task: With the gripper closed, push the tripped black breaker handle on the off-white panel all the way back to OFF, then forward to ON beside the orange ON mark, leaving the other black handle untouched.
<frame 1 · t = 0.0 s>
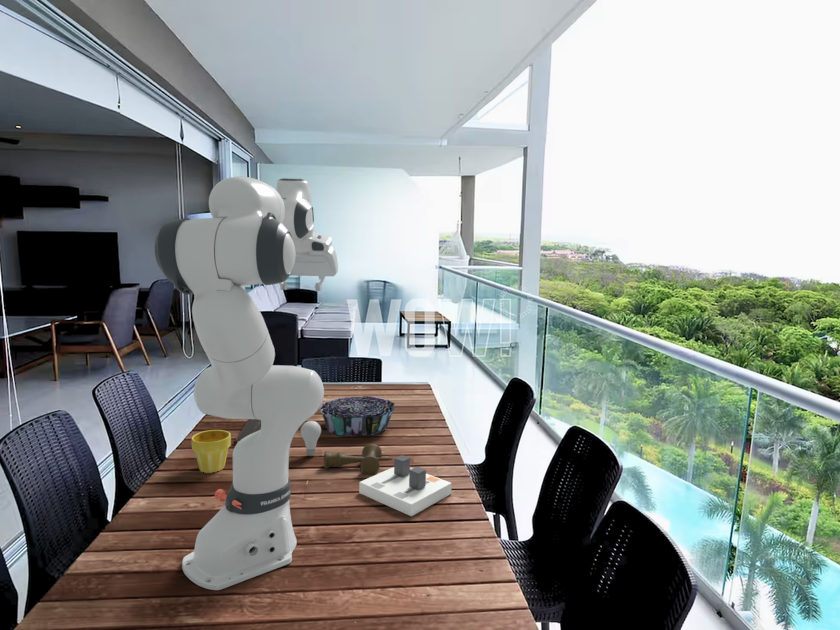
hand: (301, 289, 140), 52 cm above the table, tool tilted 20°, fingers open, 8 cm apart
tripped breaker handle: (417, 478, 131), point 5 cm above the table, slide at 3.0 cm
lightbulb: (310, 456, 158), on the table
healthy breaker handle: (402, 466, 139), point 5 cm above the table, slide at 6.0 cm
breaker panel: (405, 493, 135), on the table
kendama: (358, 469, 150), on the table
plant pot: (212, 469, 147), on the table
hardcover book: (266, 434, 178), on the table
decorative bowl: (357, 428, 185), on the table
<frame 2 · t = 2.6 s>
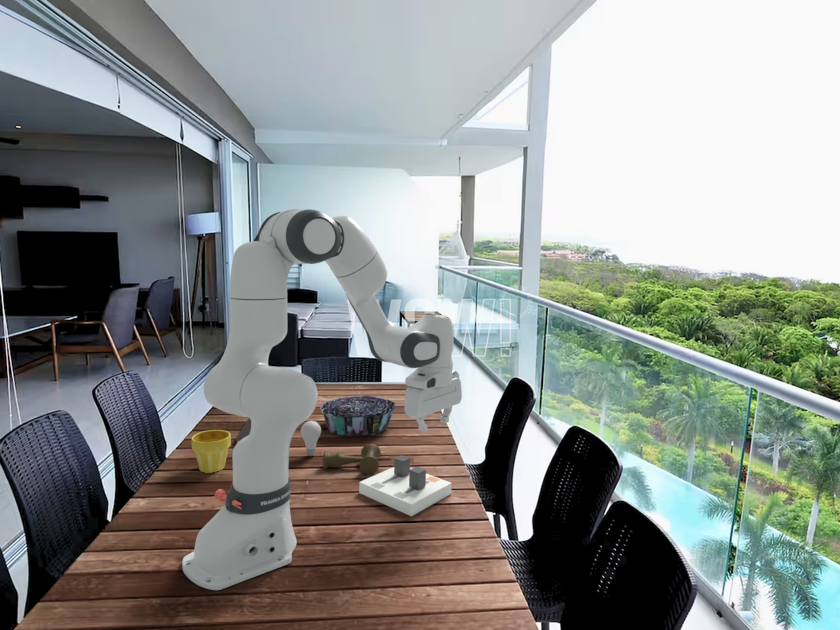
hand: (434, 426, 135), 17 cm above the table, tool pointing down, fingers open, 8 cm apart
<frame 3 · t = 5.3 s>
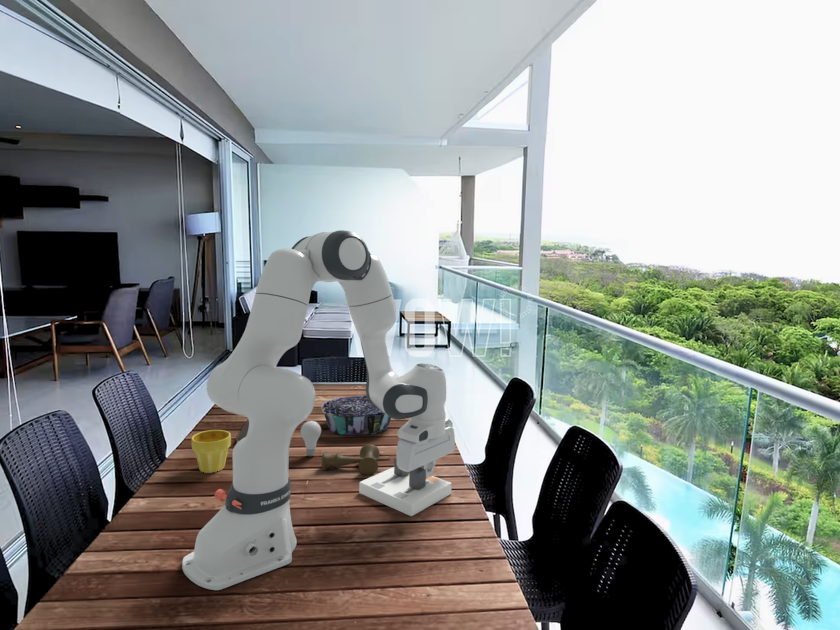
hand: (426, 477, 134), 4 cm above the table, tool pointing down, fingers closed
tripped breaker handle: (417, 478, 131), point 5 cm above the table, slide at 3.0 cm, touching gripper
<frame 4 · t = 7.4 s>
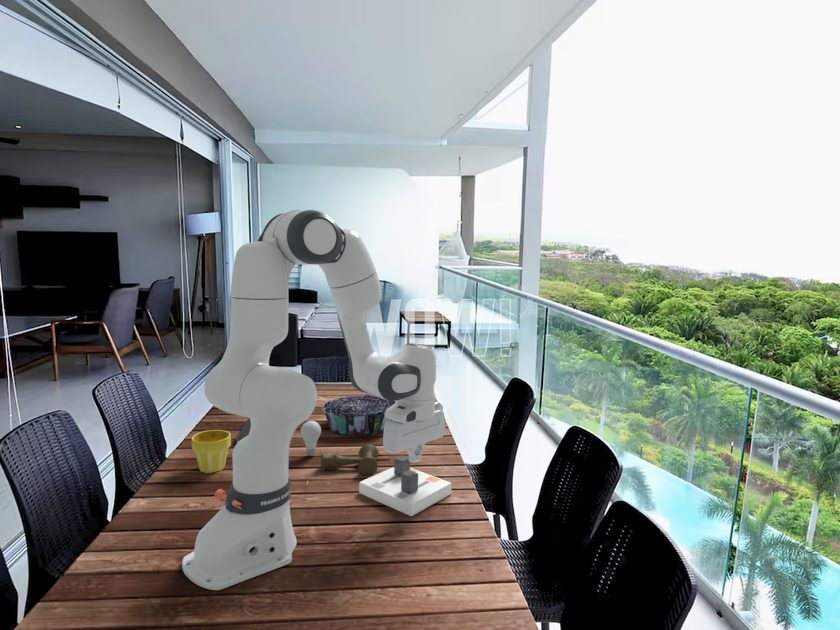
hand: (414, 461, 130), 10 cm above the table, tool pointing down, fingers closed
tripped breaker handle: (409, 481, 129), point 5 cm above the table, slide at -0.1 cm
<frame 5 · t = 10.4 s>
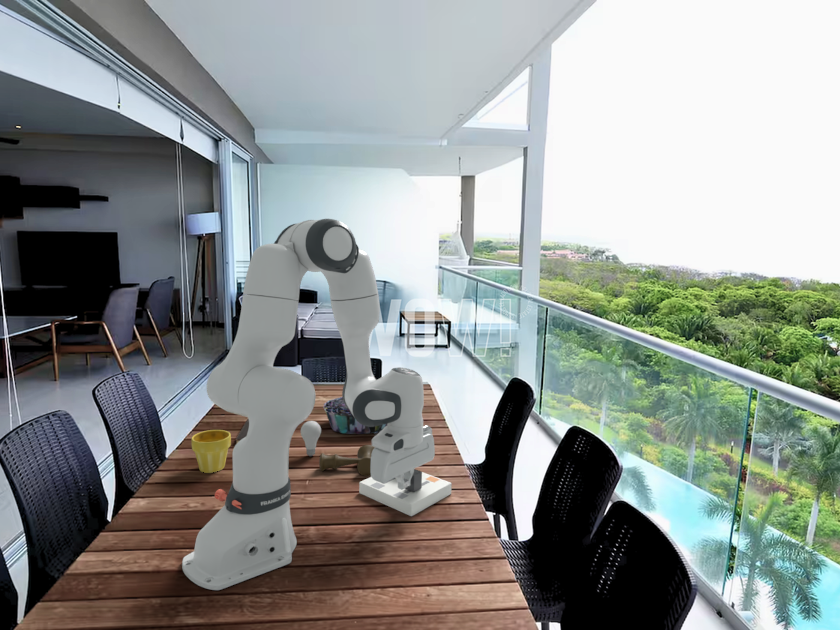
hand: (404, 487, 127), 5 cm above the table, tool pointing down, fingers closed
tripped breaker handle: (413, 480, 130), point 5 cm above the table, slide at 1.4 cm, touching gripper
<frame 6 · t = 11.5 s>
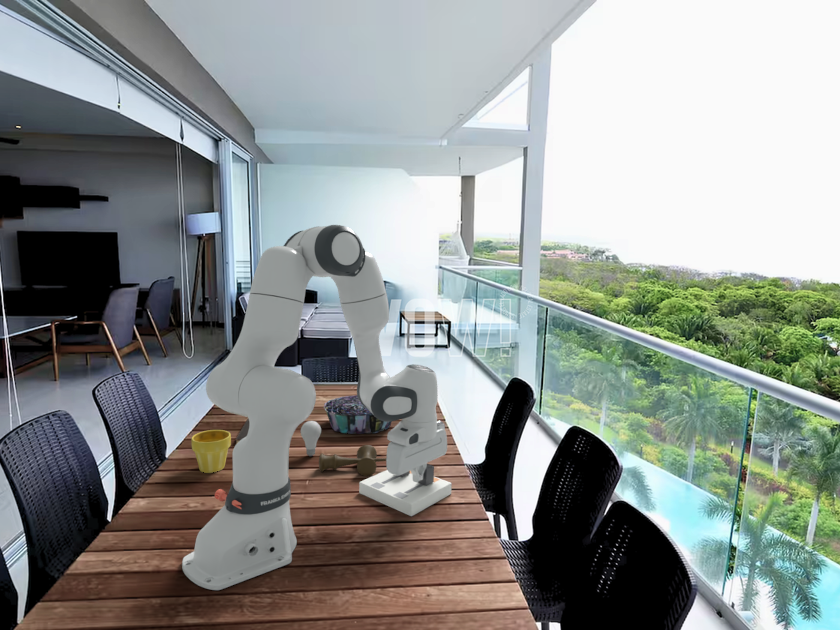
hand: (417, 480, 132), 5 cm above the table, tool pointing down, fingers closed
tripped breaker handle: (425, 474, 134), point 5 cm above the table, slide at 6.3 cm, touching gripper
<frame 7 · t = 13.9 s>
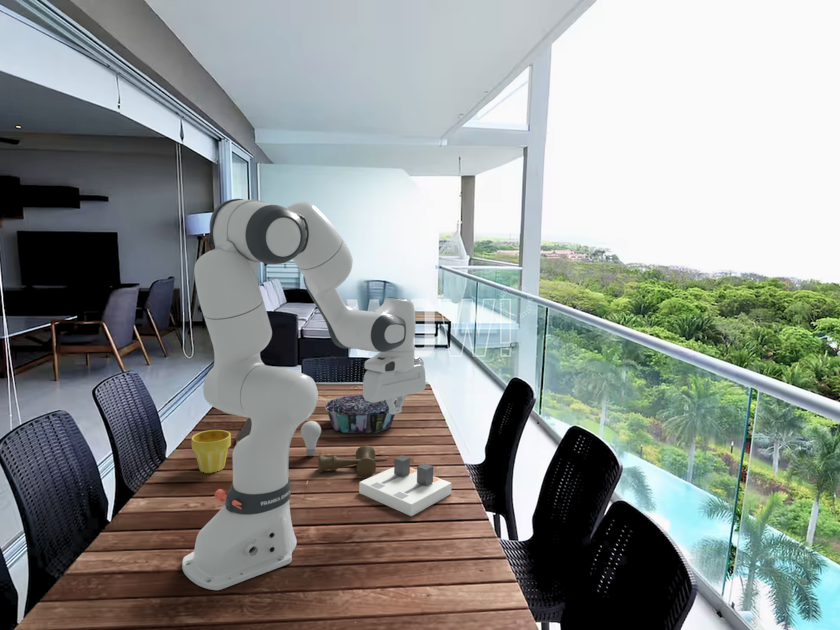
hand: (395, 413, 133), 21 cm above the table, tool pointing down, fingers closed
tripped breaker handle: (425, 474, 134), point 5 cm above the table, slide at 6.1 cm
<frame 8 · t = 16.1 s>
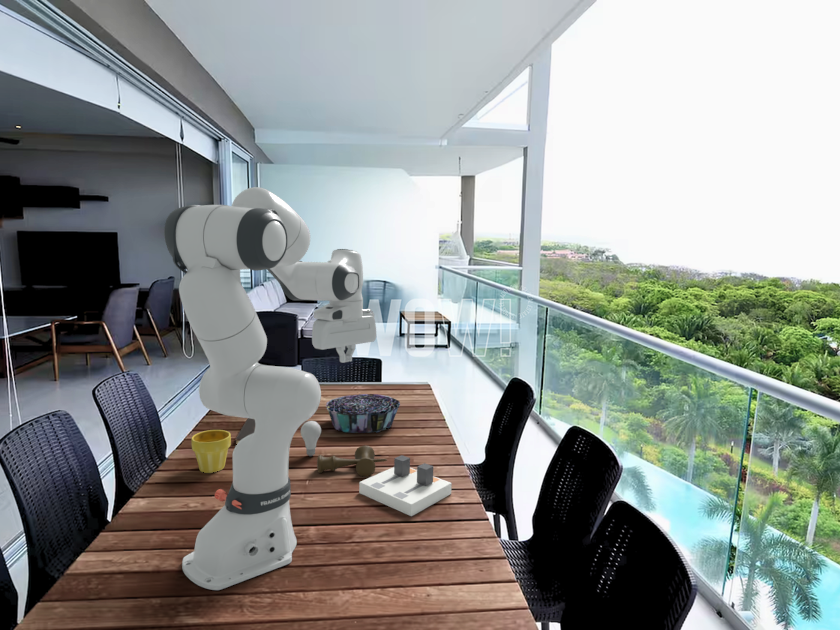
hand: (345, 361, 138), 33 cm above the table, tool pointing down, fingers closed
at the end: tripped breaker handle slide at 6.1 cm; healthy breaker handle slide at 6.0 cm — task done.
